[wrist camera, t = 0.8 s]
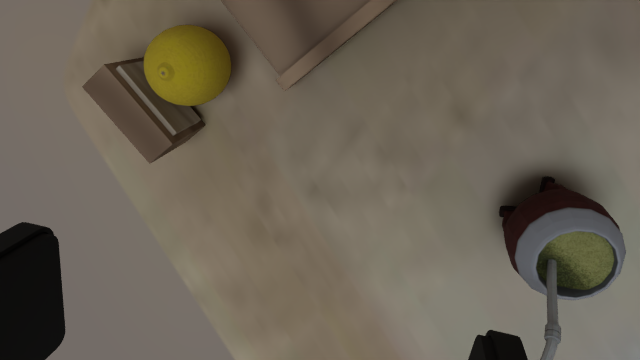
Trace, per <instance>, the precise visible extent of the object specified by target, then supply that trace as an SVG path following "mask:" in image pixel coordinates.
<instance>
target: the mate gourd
mask: <svg viewBox="0 0 640 360" xmlns="http://www.w3.org/2000/svg"><path fill="white" fill-rule="evenodd" d="M554 182H555V179H554V178H552V177H543V178H542V182H541V186H540V191H539V193H538V194H535V195H532V196H531V197H529V198H528V199H526V200H525V201H523V202H522V203H521V204H519V205H518V207H513V206H501V207H500V211H499V213H500V214H499V215H500V217H504V218H503V223H502V227H503V231H504V238H505V244H506V248H507V251H508V254H509V258H510V261H511V264H512V266H513V268H514V269H515V270H516V271H517V273H518V274H519V275H520V276H521V277H522V278H523V279H524V280H525V281H526V283H527V284H528V285H529V286H530V287H531V288H532V289H534V290H536V291H538V292H540V293H542V294H544V295H546V296H547V321H548V323H547V324H546V325H545V336H544V338H545V340H546V345H545V348H544V351H543V354H542V357H541V359H540V360H553V357H554V355H555V352H556V349H557V344H559V343H560V341H561V336H560V335H561V328H560V326H559V325H558V307H557V299H567V300H578V299H583V298H588V297H592V296H594V295H596V294H598V293H600V292H601V291H603V290H605V289H607V288H608V287H609V286H610V284H611V283H612V282H613V281H614V280H615V279H616V277H617V276H618V275H619V274H620V272H621V268H622V265H623V261H624V258H625V254H626V250H625V245H624V240H623V236H622V233H621V232H620V229H619V226H618V225H617V223H616V222H615V221H614V219H613V218H612V217H611V216H610V215H609V213H608V212H607V211H606V210H605V209H604V207H603V206H602V205H600V204H599V203H597V202H595V201H593V200H591V199H589V198H587V197H585V196H583V195H581V194H579V193H577V192H574V191H571V190H568V189H566V188H565V187H563V186H562V185H559V184H554Z"/></svg>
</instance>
